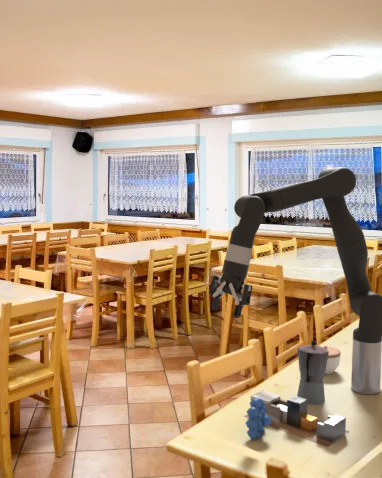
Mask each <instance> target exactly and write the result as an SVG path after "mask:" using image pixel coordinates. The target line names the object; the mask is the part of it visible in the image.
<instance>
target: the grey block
mask: <svg viewBox="0 0 382 478" xmlns="http://www.w3.org/2000/svg"><path fill="white" fill-rule="evenodd" d="M286 401H287V406H286V405H283V404H280V403H277V402H273V403H271V404H273V405H276V406H279V407H281V421H282V422H284V423H287V424H289V425H291V426H294V427H297V428H302V429H305V430H308V431H313V430H315V429H316V428H317V421H318V417H316V416H315V415H311V414H308V404H307V399H304V398H301V397H298V396H297V395H294V396H291V397H289V398H287V400H286Z"/></svg>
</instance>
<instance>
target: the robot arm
mask: <svg viewBox="0 0 382 478" xmlns="http://www.w3.org/2000/svg"><path fill="white" fill-rule="evenodd" d="M356 186H357V177H356V175H355V173H354V171H352V170H351V169H350V168H347V167H341V166H340V167H338V166H337V167H330V168H326V169H324V170H321V172H320V173H319V174H318V178H316V179H315V178H314V179H312V180H307V181H301V182H295V183H291V184H286V185H281V186H278V187H275V188H271V189H269V190H265V191H263V192H256V193H252V194H251V193H250V194H247V195H243V196H241V197H239V198H238V199H237V200H236V201H235V203H234V207H233V210H234V213H235V215H236V216H238V217H239V218H240V219H239V222H238V224H237V225H236V226H234V227H233V228H232V231H231V235H230V239H229V243H228V247H227V248H226V249H227V250H226V252H225V256H224V261H223V265H222V269H221V274H222V276H221V275H215V274H214V275H213V276H212V280H211V283H210V288H209V291H208V294H209V295H212V302H211V306H210V307H211V310H212V311H216V312H217V311H218V310H219V308H220V304H221V298H222V296H223V295H226V294H228V295H230V296H232V298H233V299H234V301H235V302H234V303H235V305H234V309H233V312H232V313H233V314H232V318H234V319H235V318H236V319H239V318H240V317H241V315H242V312H243V311H242V310H243V308H244V307H243V306H249V305H250V303H251V298H252V292H253V285H252V284H247V283H245V280H246V279H247V276H248V272H249V266H250V265H251V264H250V262H251V259H252V251H253V246H254V243H255V237H256V234H257V233H258V230H259V228H260V226H261V224H262V223H263V222H262V221H263V218H264V217H265V214H266V213H277V212H281V211H284V210H287V209H290V208H293V207H297V206H300V205H304V204H306V203H309V202H313V201H316V200H321V199H322V202H323V205H324V208H325V210H326V212H327V216H328V219H329V223H330V226H331V230H332V233H333V238H334V242H335V246H336V250H337V253H338V257H339V260H340V263H341V267H342V270H343V274H344V275H343V276H344V278H345V282H346V288H347V289H346V290H347V294H348V301H349V302H348V303H349V306H350V309H351V311H352V312H353V313H354V314H355V315H356V316H358V319H359V320H358V327H356V328H354V329H353V331H352V353H351V354H352V355H351V358H352V359H351V380H350V381H351V383H350V385H351V386H350V388H351V390H352V391H354V392H355V393H359V394H362V395H376V394H379V393H380V392H381V379H382V378H381V377H382V295H381V294H378V293H376V292H373V291H372V289H371V286H370V284H369V283H370V282H369V280H368V275H367V264H368V257H369V252H368V246H367V242H366V237H365V234H364V231H363V230H362V228H361V226H360V225H359V223H358V222H357V220H356V219H355V217H354V216H353V215H352V213H351V211H350V210H349V207H348V205H347V203H346V198H345V196H349V195H350V194H352V192H353V191H354V190H355V188H356Z"/></svg>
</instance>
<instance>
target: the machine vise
mask: <svg viewBox="0 0 382 478" xmlns="http://www.w3.org/2000/svg"><path fill="white" fill-rule="evenodd" d="M256 398H261V399H262V400H263V402H264V406H265V408H266V412H265V415H268V416H269V417H270V419H271V420H272V423H271V424H270V425H269V426H270V427H272V428H274V429H277V430H280V431H283V432H285V433H288V434H291V435H294V436H296V437H299V438H302V439H305V440H308V441H309V442H313V443H316V444H319V445H321V446H324V447H327V448H329V447H330V446H331V445H333V444H334V443H330V442H328V441H325V440H322V439H319V438H316V437H317V428H316V429H315V430H313V431H308V430H305V429H302V428H297V427H294V426H291V425H289V424H287V423H284V422H282V421H281V407H279V406H276V405H273V404H271V403H273V402H277V403H280V404H283V405H286V406H287V400H286V399H282V398H281V395H278V394H275V393H272V392H269V391H266V390H264V389H263V390H260V391H258V392H256V393H254V394H251V395H250V402H251V401H252V400H253V399H256ZM248 416H249V415H248V414H245V415H244V416H243V417H244V418H246V419H248ZM318 422H321V423H324V422H323V421H320V420H317V423H318ZM348 433H350V430H347V429H346V430H345V435H344V436H346V435H347V434H348ZM339 440H340V439H338V440H337V441H339Z"/></svg>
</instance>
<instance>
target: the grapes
mask: <svg viewBox="0 0 382 478" xmlns="http://www.w3.org/2000/svg"><path fill="white" fill-rule="evenodd" d="M249 405H250V407H249V408H248V409H247V410H246V413H247V414H248V415H249V416H248V418H247V420H246V422H245V425H246V427H247V428H248V429H247V431H246V433H247V435H248V437H249V439H251V440H254V439H258V438H262V437H263V436H262V435H263V433H265V432H266V431H265V427H268V426H269V425H270V424H271V423H272V420H271V419H270V417H269V416H268V415H265V412H266V408H265V406H264V402H263V400H262V399H261V398H256V399H253V400H252V401H251V400H250V402H249ZM247 414H246V415H247Z"/></svg>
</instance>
